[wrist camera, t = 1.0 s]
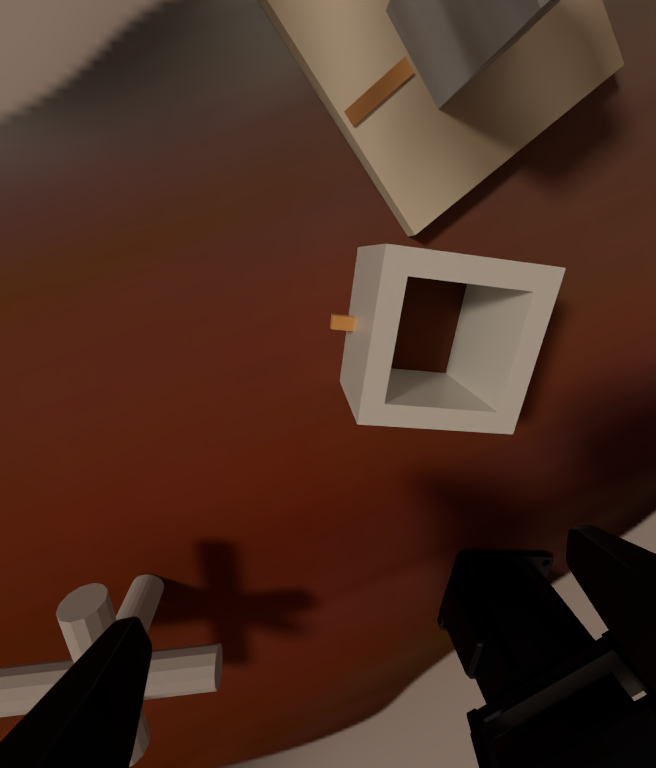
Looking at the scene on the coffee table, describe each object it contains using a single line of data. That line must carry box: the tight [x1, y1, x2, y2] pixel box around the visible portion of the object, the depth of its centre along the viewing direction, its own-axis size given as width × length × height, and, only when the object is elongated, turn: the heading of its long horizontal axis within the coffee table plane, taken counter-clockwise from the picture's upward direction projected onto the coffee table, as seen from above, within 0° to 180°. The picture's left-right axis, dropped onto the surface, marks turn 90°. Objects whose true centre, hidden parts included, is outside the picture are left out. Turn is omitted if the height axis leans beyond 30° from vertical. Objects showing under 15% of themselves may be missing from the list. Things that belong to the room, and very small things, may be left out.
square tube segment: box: [330, 244, 566, 434], centre depth 15 cm, size 7×6×5 cm
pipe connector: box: [0, 575, 223, 767], centre depth 17 cm, size 10×10×10 cm
